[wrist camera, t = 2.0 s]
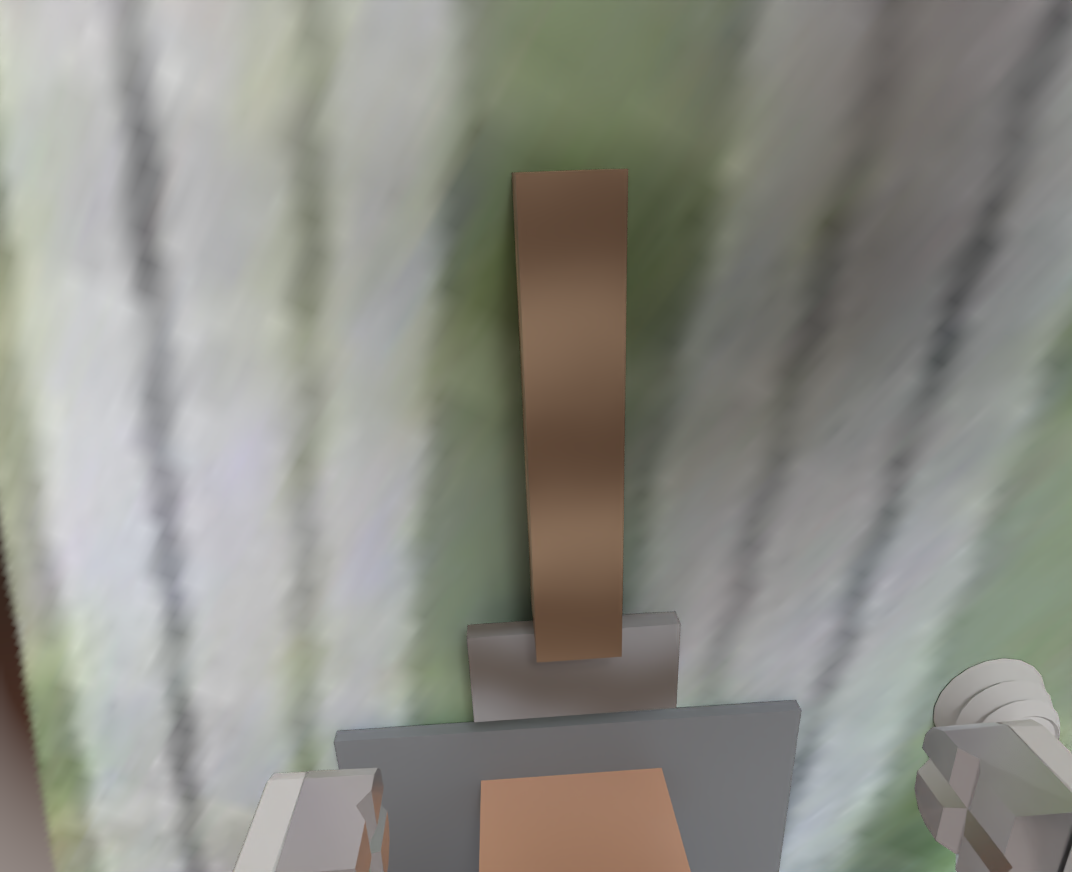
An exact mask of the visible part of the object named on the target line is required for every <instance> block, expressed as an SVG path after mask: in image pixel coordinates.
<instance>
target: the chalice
mask: <svg viewBox="0 0 1072 872" xmlns="http://www.w3.org/2000/svg"><path fill="white" fill-rule="evenodd" d="M1027 719H1032V720H1034V721H1036V722H1038V723H1040V724H1042V725H1043V726H1045V727H1046V728H1047V729H1048V730H1049V731H1050V732H1051V733H1052V734H1053V735H1054V736H1055V737H1056V738H1057V739H1058V740H1059V736H1060V720H1059V716H1058V713H1057V712H1056V710H1055V709H1054V708H1053V705H1052V701H1051V697H1050V695H1049V694H1048V693H1047V691H1046V690H1045V686H1044V682H1043V678H1042V676H1041V674H1040V673H1039V672H1038V671H1037V670H1036V669H1035V668H1034V666H1032V665H1030V664H1028V663H1025V662H1023V661H1021V660H1015V659H1006V658H1003V659H996V660H990V661H985V662H983V663H980V664H978V665H975V666H973V667H971V668H968V669H967V670H965V671H964V672H962V673H961V674H960V675H958V676H957V677H955V678H954V679H953V680H952V681H951V682H950V683H949V684H948V685H947V686H946V688H945V689H944V690H943V691H942V692H941V694H940V696H939V698H938V700H937V702H936V705H935V708H934V719H933V720H934V723H935V726H936V727H942V726H954V725H966V724H978V723H990V722H993V723H997V722H1003V721H1015V720H1027Z"/></svg>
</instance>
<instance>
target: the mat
mask: <svg viewBox="0 0 1072 872" xmlns="http://www.w3.org/2000/svg"><path fill="white" fill-rule="evenodd" d="M800 716H801V709H800V707H799V705H798V703H797V702H796V700H789V701H775V702H760V703H745V704H730V705H715V706H700V707H685V708H671V709H656V710H641V711H626V712H611V713H596V714H583V715H569V716H555V717H541V718H527V719H513V720H499V721H485V722H463V723H448V724H433V725H418V726H404V727H389V728H374V729H359V730H344V731H337V733H336V736H335V740H334V745H335V750H336V756H337V761H338V767H339V770H340V769H362V768H379V769H380V770H381V774H382V780H383V785H384V789H383V795H382V801H381V806H382V807H384V808H385V809H386V810H387V813H388V821H389V838H390V843H389V861H388V870H387V872H479V851H480V803H481V781H483V780H497V779H511V778H525V777H539V776H553V775H567V774H582V773H596V772H610V771H624V770H638V769H652V768H662V771H663V774H664V778H665V782H666V785H667V789H668V792H669V796H670V799H671V803H672V806H673V810H674V814H675V817H676V821H677V824H678V828H679V831H680V835H681V839H682V842H683V846H684V849H685V853H686V856H687V860H688V864H689V867H690V871H691V872H779V866H780V859H781V852H782V845H783V837H784V830H785V823H786V816H787V809H788V802H789V795H790V787H791V780H792V773H793V766H794V759H795V752H796V745H797V737H798V730H799V723H800Z"/></svg>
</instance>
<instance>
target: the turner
mask: <svg viewBox="0 0 1072 872" xmlns="http://www.w3.org/2000/svg"><path fill="white" fill-rule="evenodd" d="M512 186H513V208H514V230H515V252H516V275H517V297H518V319H519V341H520V364H521V386H522V408H523V430H524V452H525V475H526V497H527V519H528V541H529V564H530V586H531V603H532V615H533V621H518V622H503V623H488V624H472V625H468V626H467V646H468V657H469V669H470V680H471V692H472V703H473V714H474V722H485V721H499V720H513V719H527V718H541V717H555V716H569V715H583V714H596V713H610V712H624V711H638V710H652V709H666V708H676V704H677V684H678V664H679V644H680V622H679V619H678V617H677V614H676V612H675V611H670V612H655V613H640V614H625V615H622V604H623V525H624V446H625V367H626V289H627V210H628V169H593V170H566V171H540V172H514V173H512Z"/></svg>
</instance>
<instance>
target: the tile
mask: <svg viewBox="0 0 1072 872" xmlns="http://www.w3.org/2000/svg"><path fill="white" fill-rule="evenodd" d="M479 872H691V871H690V867H689V864H688V860H687V856H686V853H685V849H684V846H683V842H682V839H681V835H680V831H679V828H678V824H677V821H676V817H675V814H674V810H673V806H672V803H671V799H670V796H669V792H668V789H667V785H666V782H665V778H664V774H663V771H662V768H652V769H638V770H624V771H610V772H596V773H582V774H567V775H553V776H539V777H525V778H511V779H497V780H483V781H481V803H480V851H479Z"/></svg>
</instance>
